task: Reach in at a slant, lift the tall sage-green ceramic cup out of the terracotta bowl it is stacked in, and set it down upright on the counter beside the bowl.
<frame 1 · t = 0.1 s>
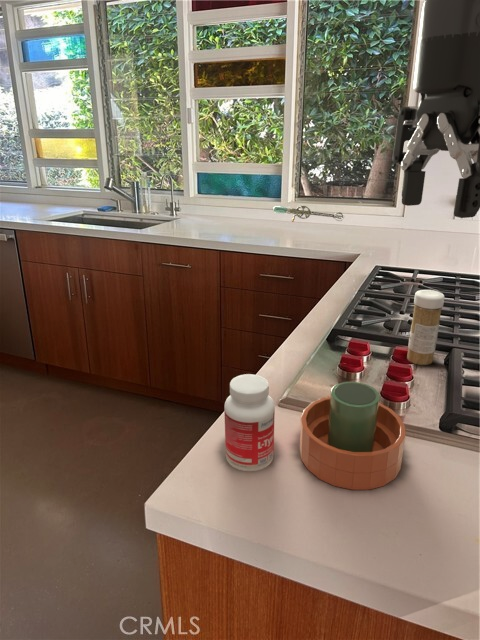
hand: (435, 210, 50), 31 cm above the countertop, tool pointing down, fingers open, 8 cm apart
pill bottle: (249, 459, 59), on the countertop
terracotta bowl: (348, 458, 59), on the countertop
green cup: (349, 454, 59), point 1 cm above the countertop, touching terracotta bowl
sprinkles bottle: (418, 366, 81), on the countertop
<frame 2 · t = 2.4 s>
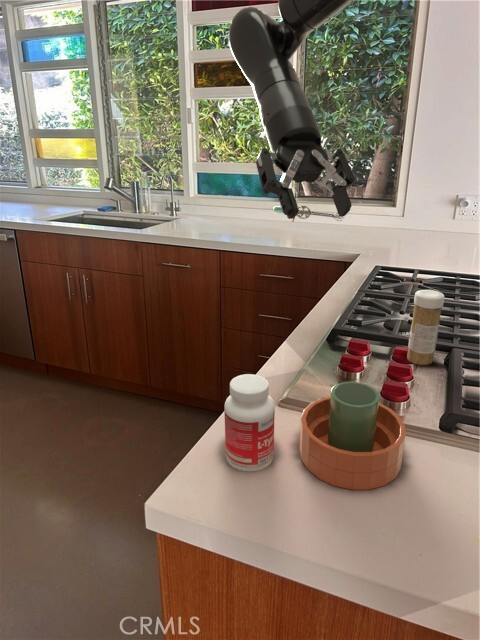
hand: (320, 214, 65), 28 cm above the countertop, tool tilted 40°, fingers open, 8 cm apart
nothing on the countertop moved.
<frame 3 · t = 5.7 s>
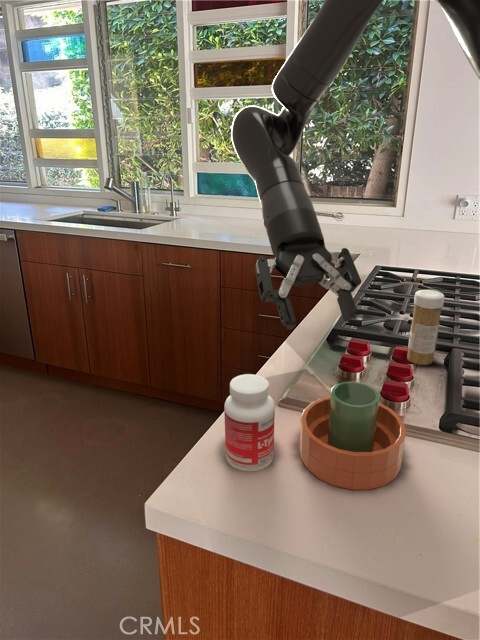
hand: (321, 323, 62), 15 cm above the countertop, tool tilted 45°, fingers open, 8 cm apart
nothing on the countertop moved.
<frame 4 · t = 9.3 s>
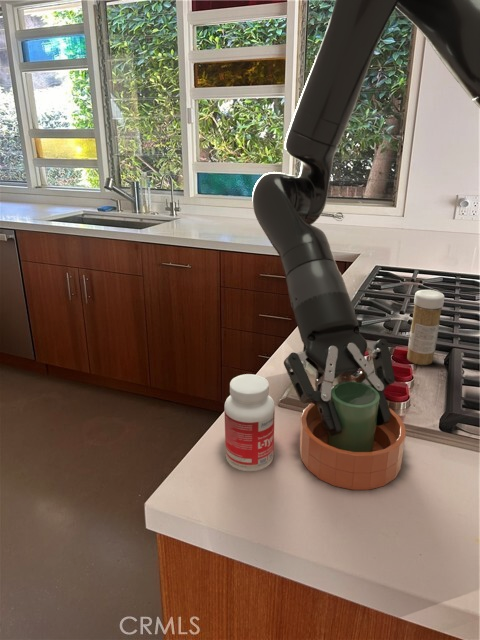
hand: (360, 428, 55), 6 cm above the countertop, tool tilted 45°, fingers closed on green cup, 5 cm apart
green cup: (349, 454, 59), point 1 cm above the countertop, touching gripper, terracotta bowl
everything else where it was.
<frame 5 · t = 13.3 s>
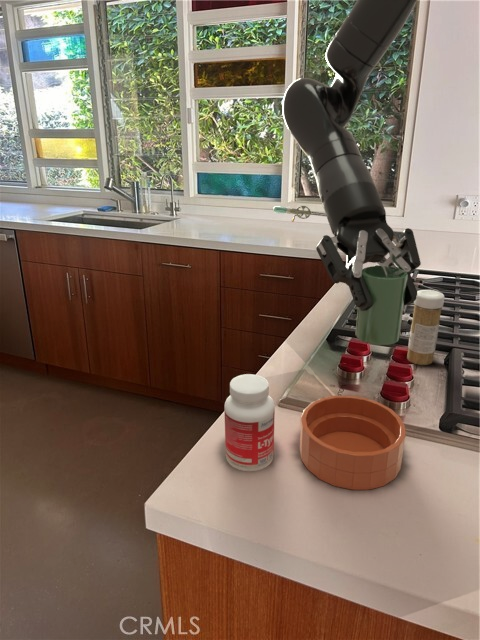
hand: (389, 304, 59), 18 cm above the countertop, tool tilted 45°, fingers closed on green cup, 5 cm apart
green cup: (377, 336, 62), point 13 cm above the countertop, touching gripper
everything else where it was.
when the fingers open (5 cm above the countertop, at t = 17.5 s): green cup stays where it is, on the countertop.
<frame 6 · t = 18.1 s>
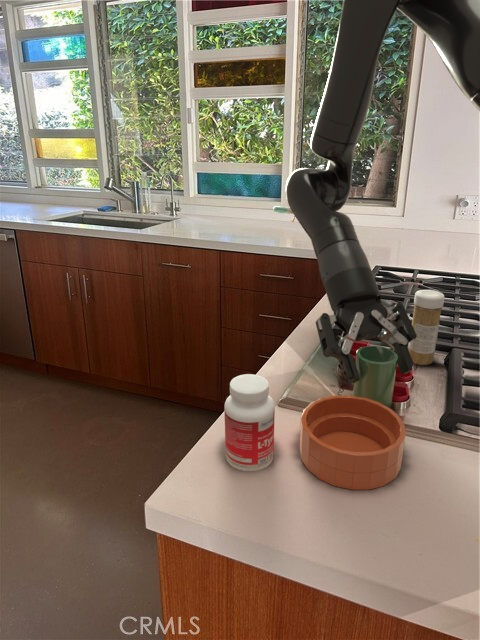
hand: (381, 377, 66), 6 cm above the countertop, tool tilted 45°, fingers open, 8 cm apart
green cup: (371, 407, 69), on the countertop
everything else where it was.
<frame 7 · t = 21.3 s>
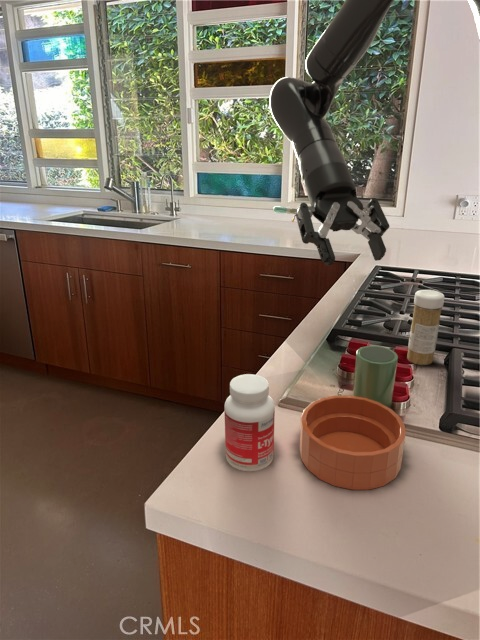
hand: (356, 260, 71), 20 cm above the countertop, tool tilted 45°, fingers open, 8 cm apart
nothing on the countertop moved.
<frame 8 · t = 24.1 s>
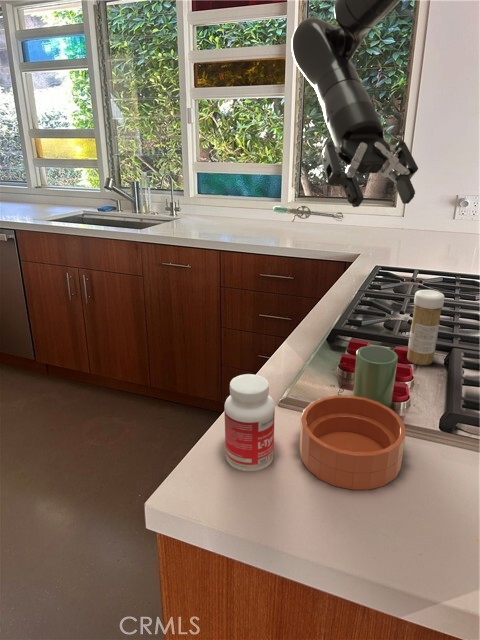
hand: (384, 202, 68), 29 cm above the countertop, tool tilted 45°, fingers open, 8 cm apart
nothing on the countertop moved.
at the end: green cup inside the target area (0.1 cm from its centre), on the countertop; green cup tilted 0°; green cup touching countertop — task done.
